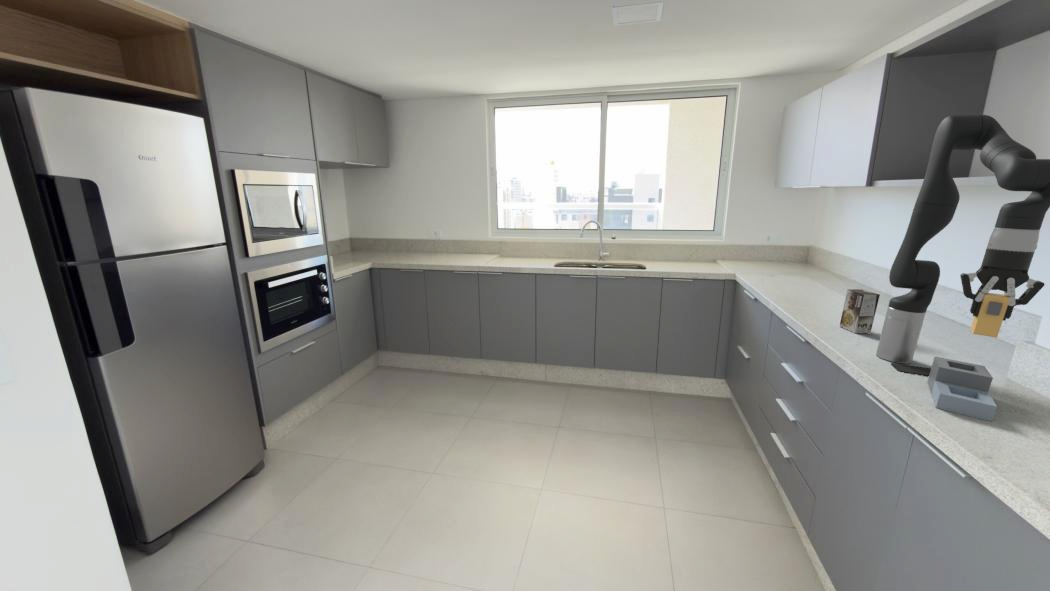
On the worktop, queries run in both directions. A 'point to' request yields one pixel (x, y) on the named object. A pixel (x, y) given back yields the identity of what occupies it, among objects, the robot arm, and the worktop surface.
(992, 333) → the plug
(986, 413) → the socket block
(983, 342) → the worktop surface
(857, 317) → the coffee box
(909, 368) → the phone
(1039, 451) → the worktop surface
